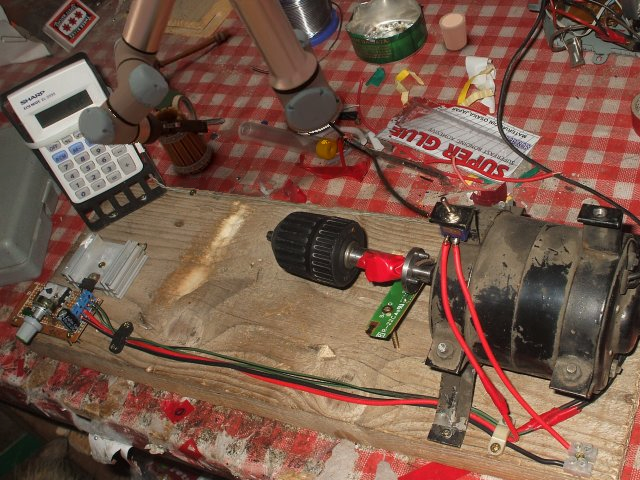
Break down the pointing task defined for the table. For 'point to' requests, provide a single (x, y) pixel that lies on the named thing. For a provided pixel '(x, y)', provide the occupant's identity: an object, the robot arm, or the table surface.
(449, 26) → the pink cylinder
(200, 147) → the mug
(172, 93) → the mat
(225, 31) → the hammer
